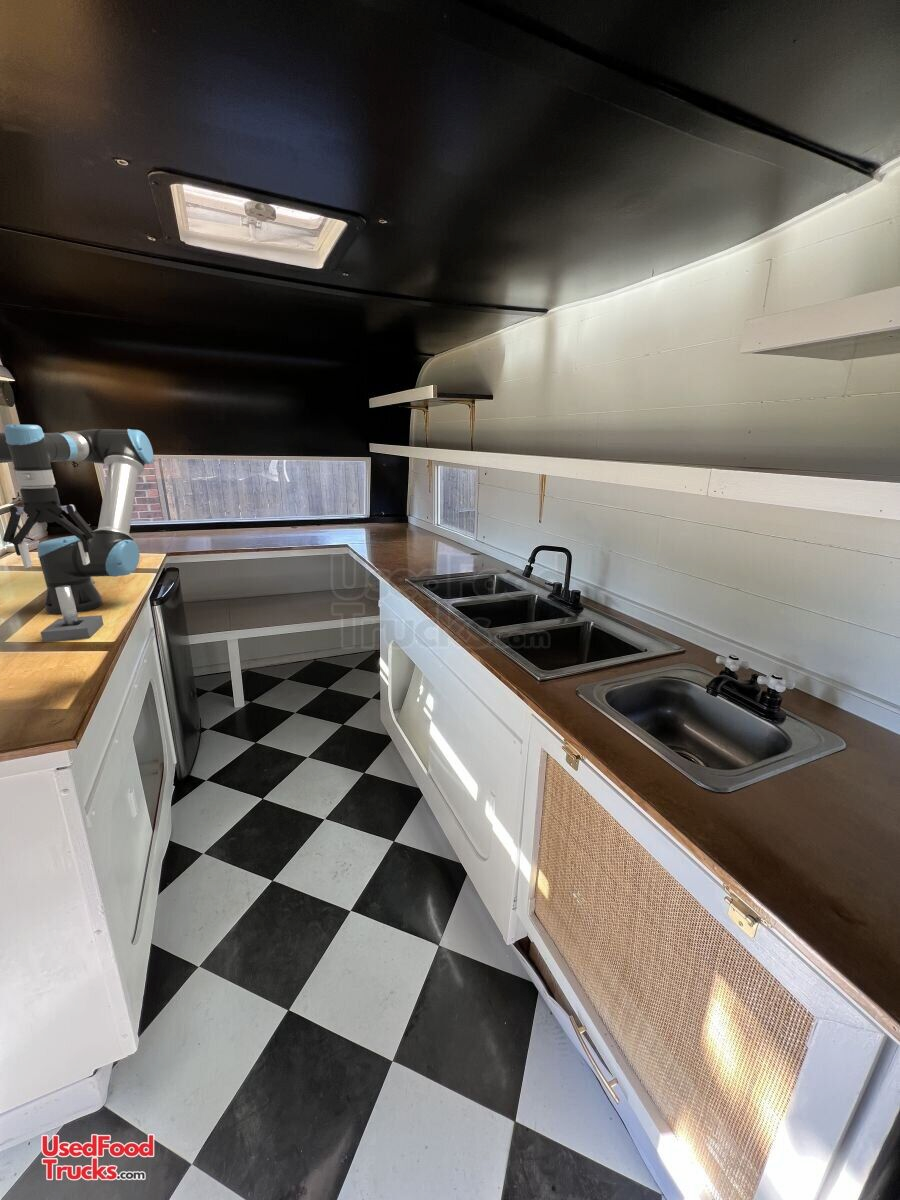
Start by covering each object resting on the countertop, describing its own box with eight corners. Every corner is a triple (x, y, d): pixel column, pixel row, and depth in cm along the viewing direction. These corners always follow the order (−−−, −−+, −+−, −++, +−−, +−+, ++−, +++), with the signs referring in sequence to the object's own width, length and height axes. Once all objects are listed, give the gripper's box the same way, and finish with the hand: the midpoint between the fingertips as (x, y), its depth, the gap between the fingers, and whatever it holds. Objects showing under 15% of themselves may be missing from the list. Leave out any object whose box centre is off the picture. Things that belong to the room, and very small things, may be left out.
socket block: (60, 628, 143) (58, 618, 142) (103, 624, 146) (101, 615, 145) (43, 642, 133) (40, 632, 132) (89, 638, 136) (87, 628, 135)
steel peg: (70, 631, 141) (58, 585, 136) (83, 630, 142) (72, 584, 137) (65, 636, 138) (52, 589, 133) (79, 634, 138) (67, 588, 134)
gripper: (-30, 489, 120) (-5, 571, 127) (87, 487, 127) (105, 565, 134) (-12, 486, 127) (10, 564, 133) (98, 484, 134) (114, 559, 140)
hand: (58, 565), depth 134 cm, fingers open, 13 cm apart
